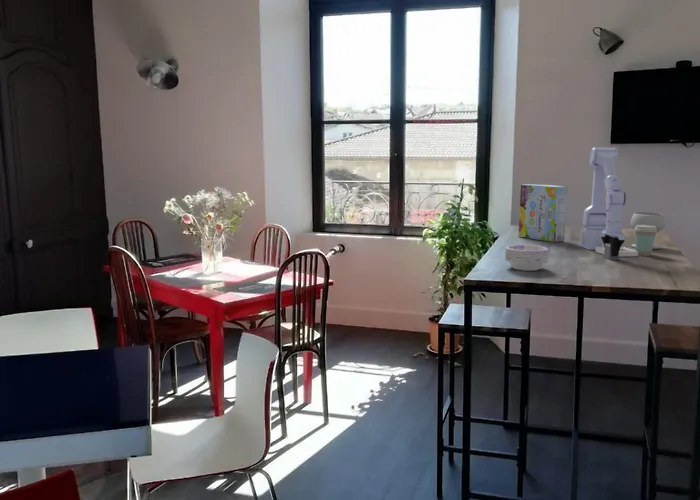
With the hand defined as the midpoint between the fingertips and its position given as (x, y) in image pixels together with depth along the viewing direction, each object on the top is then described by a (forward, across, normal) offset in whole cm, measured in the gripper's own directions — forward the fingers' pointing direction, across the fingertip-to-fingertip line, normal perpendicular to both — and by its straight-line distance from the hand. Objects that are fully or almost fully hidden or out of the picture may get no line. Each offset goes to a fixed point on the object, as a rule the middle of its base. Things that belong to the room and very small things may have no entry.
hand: (611, 255), depth 258 cm
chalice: (+2, -25, +30) cm, 39 cm away
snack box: (+2, -52, -7) cm, 52 cm away
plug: (+1, 0, 0) cm, 1 cm away
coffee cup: (+2, -8, +19) cm, 20 cm away
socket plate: (+1, -10, +8) cm, 13 cm away
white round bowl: (+2, +16, -42) cm, 45 cm away
